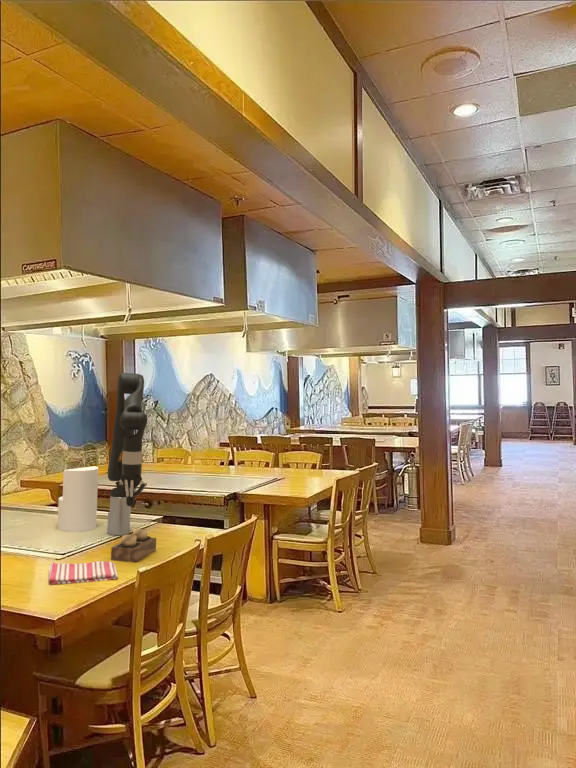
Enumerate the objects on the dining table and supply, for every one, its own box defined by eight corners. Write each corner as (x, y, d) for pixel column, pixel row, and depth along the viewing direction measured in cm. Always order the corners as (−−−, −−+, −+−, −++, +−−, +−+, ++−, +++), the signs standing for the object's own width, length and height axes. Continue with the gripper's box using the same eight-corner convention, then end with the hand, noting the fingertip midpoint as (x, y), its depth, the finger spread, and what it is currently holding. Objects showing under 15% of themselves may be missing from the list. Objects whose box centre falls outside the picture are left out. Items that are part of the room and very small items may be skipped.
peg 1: (118, 559, 236) (119, 537, 236) (125, 555, 242) (126, 534, 242) (131, 560, 235) (132, 538, 235) (138, 556, 241) (138, 535, 241)
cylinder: (104, 526, 287) (106, 468, 286) (73, 533, 272) (75, 472, 272) (80, 521, 296) (82, 464, 296) (49, 527, 281) (51, 467, 281)
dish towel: (48, 571, 221) (49, 562, 221) (114, 566, 229) (114, 557, 229) (48, 587, 205) (48, 576, 205) (118, 581, 213) (119, 571, 213)
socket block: (110, 559, 236) (111, 545, 236) (131, 547, 253) (131, 534, 253) (137, 562, 234) (137, 548, 234) (155, 549, 251) (156, 536, 251)
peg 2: (130, 552, 246) (130, 531, 246) (136, 548, 252) (136, 528, 252) (142, 553, 245) (143, 532, 245) (148, 550, 251) (149, 529, 251)
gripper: (112, 462, 236) (110, 506, 236) (143, 464, 234) (141, 509, 234) (120, 460, 243) (119, 502, 244) (151, 462, 241) (149, 505, 241)
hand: (130, 505), depth 239 cm, fingers closed
